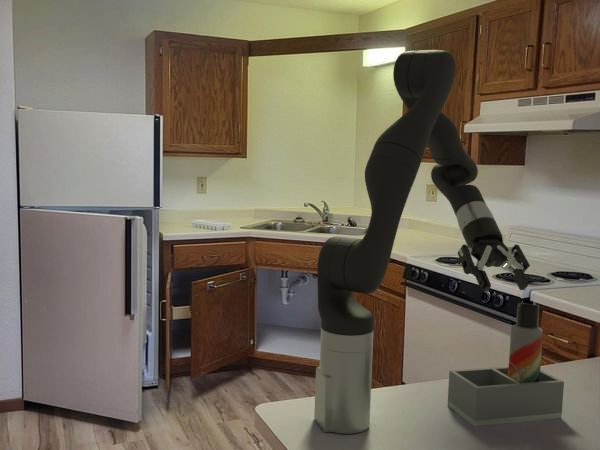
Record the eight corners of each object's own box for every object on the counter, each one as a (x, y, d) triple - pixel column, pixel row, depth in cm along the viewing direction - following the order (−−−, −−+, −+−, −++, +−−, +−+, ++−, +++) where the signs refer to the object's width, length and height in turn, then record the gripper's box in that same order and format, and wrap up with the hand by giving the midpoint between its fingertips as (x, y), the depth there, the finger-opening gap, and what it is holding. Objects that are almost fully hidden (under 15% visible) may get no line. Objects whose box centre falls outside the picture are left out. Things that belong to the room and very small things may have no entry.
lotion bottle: (503, 405, 113) (510, 303, 111) (509, 396, 118) (515, 298, 116) (535, 412, 110) (542, 307, 108) (539, 402, 115) (546, 301, 113)
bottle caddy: (474, 426, 105) (476, 388, 105) (447, 405, 114) (449, 370, 114) (561, 417, 110) (564, 381, 110) (528, 398, 119) (531, 365, 119)
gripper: (456, 215, 124) (483, 278, 114) (514, 216, 128) (545, 277, 118) (442, 237, 130) (467, 299, 120) (499, 237, 134) (527, 297, 124)
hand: (506, 288), depth 119 cm, fingers open, 8 cm apart
